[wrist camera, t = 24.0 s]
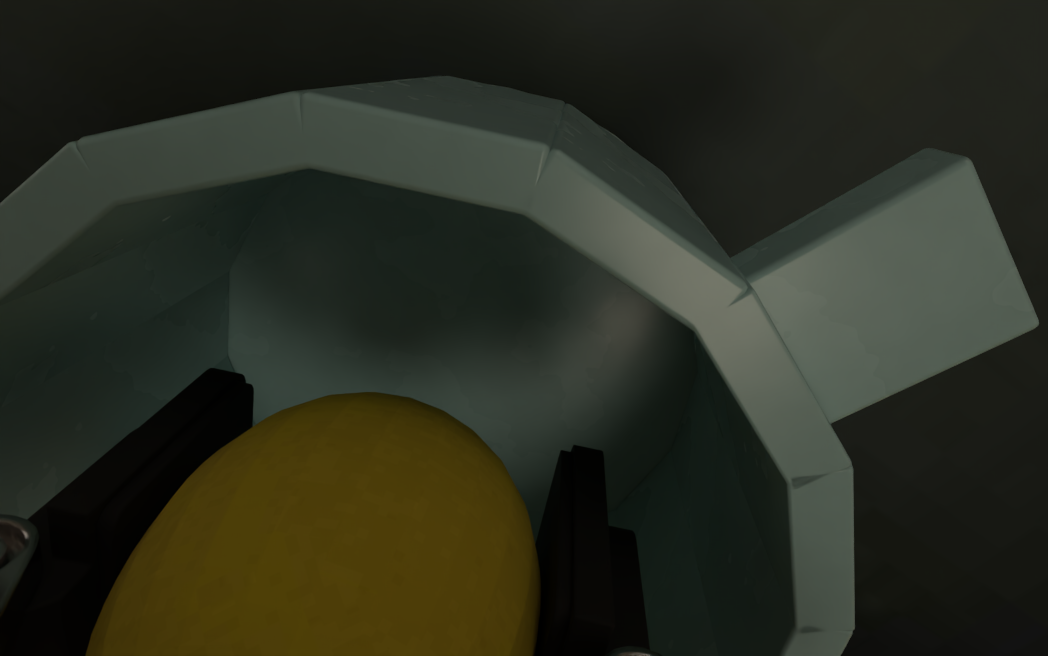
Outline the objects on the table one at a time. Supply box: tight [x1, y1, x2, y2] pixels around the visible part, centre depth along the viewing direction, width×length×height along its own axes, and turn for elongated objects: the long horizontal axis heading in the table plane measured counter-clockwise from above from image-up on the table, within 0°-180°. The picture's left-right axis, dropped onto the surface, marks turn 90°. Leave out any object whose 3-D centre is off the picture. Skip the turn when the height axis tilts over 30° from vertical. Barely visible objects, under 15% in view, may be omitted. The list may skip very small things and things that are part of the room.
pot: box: [0, 76, 1039, 656], centre depth 13 cm, size 14×19×8 cm
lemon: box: [85, 392, 541, 656], centre depth 9 cm, size 6×6×8 cm
